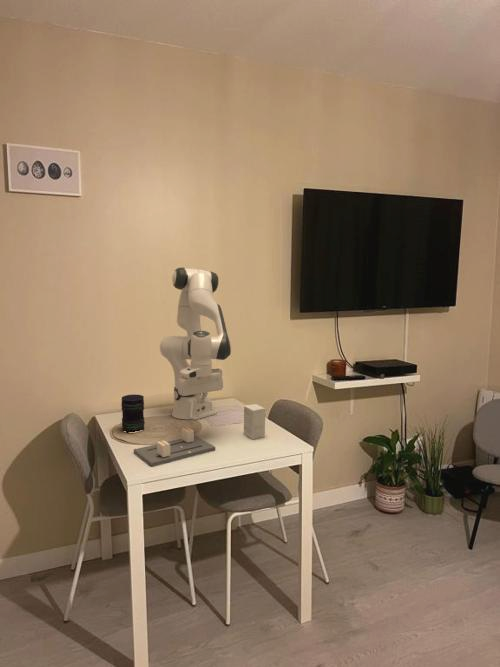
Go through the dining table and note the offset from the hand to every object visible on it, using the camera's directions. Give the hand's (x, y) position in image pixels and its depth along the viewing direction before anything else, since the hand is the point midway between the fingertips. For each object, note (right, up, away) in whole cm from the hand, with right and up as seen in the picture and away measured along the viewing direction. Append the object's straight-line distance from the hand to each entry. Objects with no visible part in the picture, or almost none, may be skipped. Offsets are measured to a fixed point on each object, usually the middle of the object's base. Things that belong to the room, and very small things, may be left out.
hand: (201, 403), depth 208 cm
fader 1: (-13, -17, -17) cm, 27 cm away
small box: (+22, -16, +10) cm, 29 cm away
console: (-9, -18, -9) cm, 22 cm away
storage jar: (-32, -14, +16) cm, 38 cm away
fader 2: (-5, -15, -1) cm, 16 cm away
